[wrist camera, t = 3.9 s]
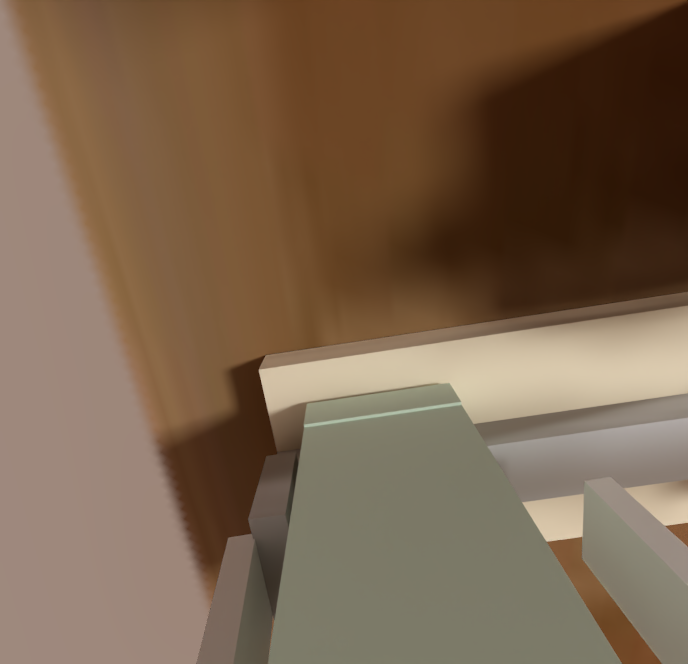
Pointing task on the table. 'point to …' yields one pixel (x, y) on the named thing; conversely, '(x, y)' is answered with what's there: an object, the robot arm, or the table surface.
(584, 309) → the rail
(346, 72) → the table surface
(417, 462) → the carriage
